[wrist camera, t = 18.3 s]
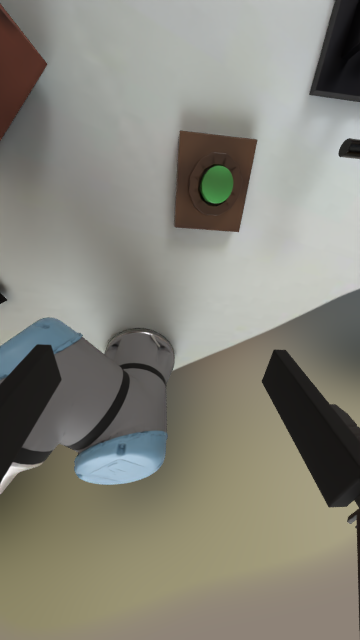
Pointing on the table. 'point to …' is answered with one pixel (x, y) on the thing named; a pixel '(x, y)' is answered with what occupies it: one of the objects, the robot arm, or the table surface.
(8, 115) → the potted plant
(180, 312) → the table surface
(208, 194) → the green button
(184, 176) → the switch block
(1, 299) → the red board with handle
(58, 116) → the table surface
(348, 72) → the lever bracket
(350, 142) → the lever
